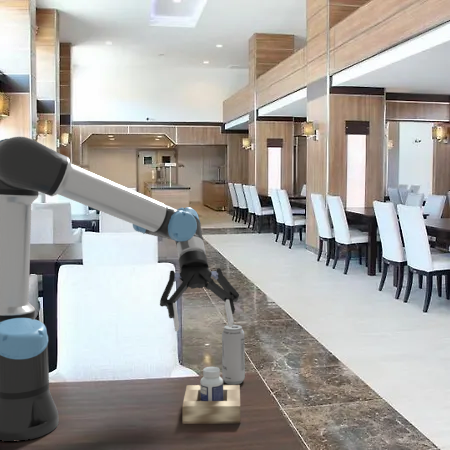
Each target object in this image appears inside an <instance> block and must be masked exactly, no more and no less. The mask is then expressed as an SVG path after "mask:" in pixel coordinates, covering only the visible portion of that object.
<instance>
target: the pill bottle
mask: <svg viewBox="0 0 450 450" xmlns="http://www.w3.org/2000/svg"><path fill="white" fill-rule="evenodd" d="M220 375H221V369H220V367H218V366H206V367H204V368H203V369H202V376H203V377H202V378H201V379H200V381H199V382H200V383H199V385H200V393H201V401H223V385H224V380H223V378H222V377H221V376H220Z"/></svg>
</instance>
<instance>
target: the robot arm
mask: <svg viewBox="0 0 450 450" xmlns="http://www.w3.org/2000/svg"><path fill="white" fill-rule="evenodd" d="M39 193H42V194H45V195H47V196H50V197H54V196H57V195H58V196H60V197H61V196H62V197H64V198H66V199H69V200H71V201H75V203H76V202H77V203H79V204H82V205H84V206H86V207H88V208H91V209H95V210H97V211H99V212H101V213H104V214H107V215H109V216H113V217H114V218H117V219H120V220H122V221H125V222H126V223H127V222H128V223H129V224H132V228H133V230H134V231H135V232H138V233H141V234H143V235H144V234H145V235H151V236H154V237H159V238H163V239H168V240H172V241H175V244H176V245H175V246H176V251H177V257H178V265H179V271H180V272H175V271H174V270H170V272H169V277H168V281H167V284H166V286H165V289H164V290H163V292H162V295H161V297H160V300H159V306H160V307H166V309H167V312H168V318H169V319H173V325H174V332H179V329H180V321H179V314H178V307H177V301H178V300H179V298H180V297H181V296H182V295H183V294H184V293H185V292H186V291H187V290H188V288H190V289H194V290H195V289H203V288H205V289H207V290H208V291H209V290H210V292H212V293H213V294H215V295H216V296H217V297H218V298H219V299H221V300H222V301H223V302H224V309H225V316H226V319H227V325H229V327H232V326H233V325H234V322H235V321H234V320H235V319H234V316H233V315H234V314H235V310H236V308H235V303H237V302H238V300H239V299H240V298H239V297H240V293H238V291H237V290H236V289H235V287H234V286H233V285H232V284H231V283H230V282H229V280H228V279H227V278H226V277H225V275H224V274H223V271H222V269H221V268H216V270H214V271H213V270H212V271H211V269H210V267H209V262H208V258H207V257H208V256H207V252H206V247H205V244H204V237H203V232H202V224H201V221H200V217H199V214H198V213H197V210H196V209H193V208H192V207H179V208H174V207H173V206H170V205H167V204H164V203H163V202H160V201H159V200H156V199H154V198H152V197H149V196H148V195H145V194H143V193H140V192H137V191H135V190H134V189H131V188H128V187H126V186H124V185H122V184H119V183H117V182H116V181H115V182H114V181H112V180H110V179H108V178H105V177H103V176H101V175H98V174H96V173H94V172H92V171H89V170H86V169H85V168H82V167H80V166H78V165H75V164H73V163H71V160H70V158H69V156H66V155H64V154H61V153H60V152H58V151H56V150H53V149H52V148H51V147H47V146H46V145H44V144H42V143H40V142H39V141H36V140H35V139H32V138H29V137H26V136H14V137H10V138H4V139H1V140H0V440H3V441H2V442H4V441H14V440H25V441H29V440H28V439H30V440H33V439H37V438H40V437H43V436H45V435H47V434H49V433H51V432H53V431H54V430H55V429H56V428H57V427H58V425H59V423H60V421H59V412H58V408H57V406H56V403H55V401H54V399H53V396H52V394H51V391H50V374H49V372H50V371H49V347H48V346H49V335H48V331H47V326H46V325H45V323H44V322H42V321H41V320H37V319H35V317H36V314H35V313H36V308H35V307H34V306H33V305H32V304H31V303H30V301H29V300H30V299H29V296H30V295H29V294H30V264H31V263H30V261H31V236H32V235H31V232H32V231H31V230H32V204H33V202H35V200H37V199H38V198H39ZM212 277H213V278H212ZM178 279H180V281H181V284H180V285H179V286H178V288H177V289H176V290H175V291H174V293H172V295H171V296H170V294H171V291H172V289H173V286H174V284H175V283H176V282H177V281H178ZM214 280H215V281H216V280H217V282H218V283H216V282H215V281H214ZM169 296H170V298H169V299H168V297H169Z"/></svg>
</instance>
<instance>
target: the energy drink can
mask: <svg viewBox="0 0 450 450" xmlns="http://www.w3.org/2000/svg"><path fill="white" fill-rule="evenodd" d="M245 347H246V346H245V331H244V329H243V326H242V325H239V324H233V326H232V327H229V325H228V324H226V325H224V327H223V330H222V332H221V351H222V352H221V354H222V355H221V356H222V357H221V358H222V359H221V365H222V366H221V367H222V370H221V372H222V375H221V376H222V377H221V378H222V379H223V382H224V383H225V384H226V385H240V384H242V383H243V382H244V380H245V377H246V374H245V373H246V371H245V370H246V368H245V367H246V365H245V361H246V360H245V359H246V358H245V352H246V351H245Z"/></svg>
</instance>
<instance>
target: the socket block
mask: <svg viewBox="0 0 450 450" xmlns="http://www.w3.org/2000/svg"><path fill="white" fill-rule="evenodd" d="M240 386H241V385H240V384H235V385H232V384H223V401H201V393H200V384H197V385H196V384H194V385H193V384H191V385H190V384H189V385H188V384H186V387H185V392H184V396H183V402H182V424H183V425H186V424H189V425H190V424H191V425H193V424H196V425H198V424H199V425H200V424H207V425H209V424H212V425H213V424H220V425H221V424H241V387H240Z"/></svg>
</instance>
